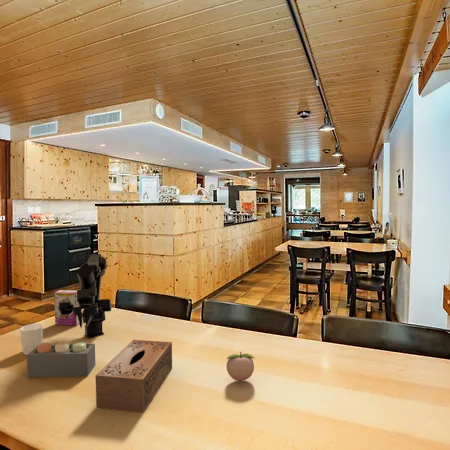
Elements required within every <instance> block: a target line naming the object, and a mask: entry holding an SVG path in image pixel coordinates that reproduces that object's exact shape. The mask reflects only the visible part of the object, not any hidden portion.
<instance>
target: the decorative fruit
mask: <svg viewBox="0 0 450 450" xmlns="http://www.w3.org/2000/svg"><path fill="white" fill-rule="evenodd" d="M254 360H255V357H254V356H253V355H251V354H250V353H242V351H240V354H237V353H233V354H229V355H228V356H227V357H226V371H227V373H228V375H229V377H231V379H232V380H235V381H237V382H242V381H246V380H248V379H250V378H251V376H253V374H254V370H255V363H254Z"/></svg>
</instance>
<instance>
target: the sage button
mask: <svg viewBox="0 0 450 450" xmlns="http://www.w3.org/2000/svg"><path fill="white" fill-rule="evenodd" d="M72 344H73V352H84V351H85V350H86V344H87V342H86V341H85V342H84V341H79V342H78V341H77V342H76V343H72Z"/></svg>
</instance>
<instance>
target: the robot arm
mask: <svg viewBox="0 0 450 450" xmlns="http://www.w3.org/2000/svg"><path fill="white" fill-rule="evenodd" d="M107 268H108V263H107V258H105V257H104V256H102V253H91V254H89V258H88V259H87V262H84V263H83V264H82V265H80V267H78V269H76V270H77V271H76V273H77V278H78V281H79V283H80V288H79V289H77V290H76V291H77V302H79V303H76V304H73V305H72V304H71V301H68V302H61V303H60V304H59V307H58V308H59V311H60V313H61V314H62V315H67V314H71V313H72V311H73V313H74V315H75V316H78V319H79V327H80V328H83V324H85V325H84V335H85V336H87V337H88V338H89V339H92V338H96V337H99V336H104V335H105V332H104V331H103V322H105V321H106V312H112V301H111V298H102V299H101V287H102V286H101V285H102V277H103V276H104V275H105V274H106V270H107Z"/></svg>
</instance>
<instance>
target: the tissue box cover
mask: <svg viewBox="0 0 450 450" xmlns="http://www.w3.org/2000/svg"><path fill="white" fill-rule="evenodd" d="M172 369H173V342H172V341H161V340H160V341H158V340H145V339H133V340H131V341H130V343H128V344H127V345H126V346H125V347H124V348H123V349H122V350H120V352H119V353H118V354H116V356H114V357H113V358H112V359H111V360H110V361H109V362H108V363H107V364H106V365H105V366H104V367H103V368H102V369H101V370H99V371H98V372H97V373H96V374H95V376H94V377H95V397H96V398H95V404H96V406H95V407H96V409H98V410H99V409H100V410H101V409H103V410H111V411H112V410H113V411H123V412H132V413H141V414H143V413H145V412H146V410H147V409H148V407H149V405H150V404H151V403H152V401H153V399H154V398H155V396H156V395H157V393H158V392H159V390H160V389H161V386H163V384H164V382H165V381H166V379H167V377H168V376H169V374H170V373H171V371H172Z"/></svg>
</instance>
